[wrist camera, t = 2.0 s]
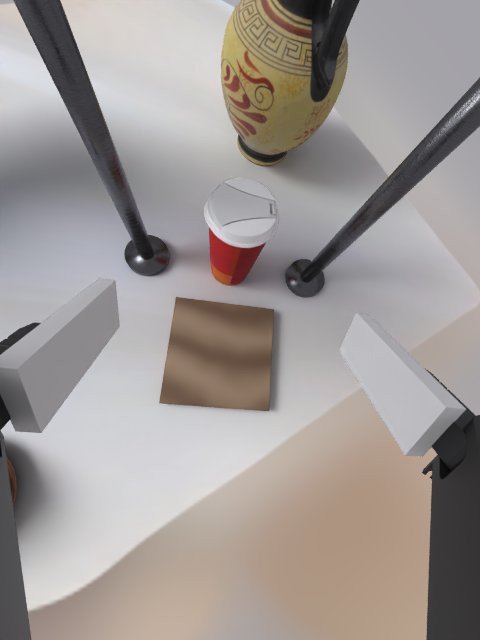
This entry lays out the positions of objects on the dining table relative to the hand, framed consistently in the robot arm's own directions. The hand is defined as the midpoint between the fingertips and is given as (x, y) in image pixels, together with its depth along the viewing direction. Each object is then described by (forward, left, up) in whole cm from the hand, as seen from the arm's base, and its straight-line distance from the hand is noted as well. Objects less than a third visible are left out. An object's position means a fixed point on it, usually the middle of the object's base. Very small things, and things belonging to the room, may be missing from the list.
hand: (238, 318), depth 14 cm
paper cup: (-11, +7, -21) cm, 25 cm away
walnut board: (0, +1, -21) cm, 21 cm away
